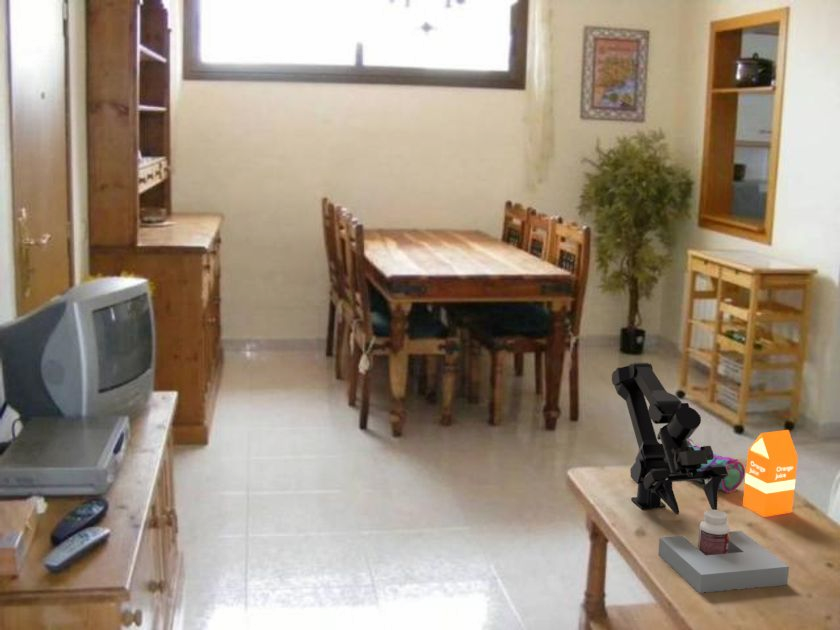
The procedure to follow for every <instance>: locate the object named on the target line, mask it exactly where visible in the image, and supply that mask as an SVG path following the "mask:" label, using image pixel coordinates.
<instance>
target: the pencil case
mask: <svg viewBox="0 0 840 630" xmlns="http://www.w3.org/2000/svg"><path fill="white" fill-rule="evenodd" d="M687 441H688V444H689V447H693V448H694V450H700V447H701V446H698V445H697V444H695V443H694V441H693V440H692V438H690V437H689V438H688V439H687ZM713 455H714V458H713V460H707V462H708V464H701V466H702V467H701V468H700V469H697V471H704V470H705V469H706V468H707V467H708V466H709V465H724V466H725V467H726V468H727V470H728V473H729V475H728V476H727V477H726V478H725V479H724V480H723V481H722V482H721V483H720V484H719V487H718V491H719V490H720V491H722V492H724V493H727V494H731V493H733V492H734V491H735V490H736V489H738V487H739V486H740V485H741V484H742V482H743V480H745V475H746V470H745V469H746V468H745V466H744V464H743V463H742V462H741V461H739V459H737V458H736V459H735V458H732V457H729V456H722V455H719V454H716V453H713ZM696 481H697V482H699V483H702V481H701V480H696ZM702 484H703V483H702Z"/></svg>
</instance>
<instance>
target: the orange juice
mask: <svg viewBox="0 0 840 630" xmlns="http://www.w3.org/2000/svg"><path fill="white" fill-rule="evenodd" d="M798 458H799V457H798V454H797V451H796V448H795V444H794V443H793V439H792V437H791V433H790V430H789V429H785V430H777V431H769V432H761V433H760V434H759V435H758V436H757V438H756V440H754V442H753V443H752V445H751V446H749V448H748V449H747V460H746V468H745V469H746V470H745V476H744V487H743V488H744V490H743V499H742V500H743V501H742V506H743V507H745V508H746V509H748V510H750V511H752V512H754V513H756V514H758V515H759V516H761V517H763V518H765V517H766V518H767V517H771V516H777V515H782V514H783V515H784V514H788V513H792V512H793V504H794V503H793V502H794V495H795V494H794V493H795V488H796V487H795V486H796V477H797V466H798Z"/></svg>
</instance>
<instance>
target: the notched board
mask: <svg viewBox="0 0 840 630" xmlns="http://www.w3.org/2000/svg"><path fill="white" fill-rule="evenodd" d="M658 541H659V542H658V552H657V555H658V556H659V557H660V558H661V559H662V560H664V562H666V563H667V565H669V566H670V567H671V568H672V569H673V570H674V571H675V572H677V574H678V575H680V576H681V578H682V579H684V580H685V581H686V582H687V583H688V584H689V585H690V586H691V585H692V586H693V587H694V588H693V587H692V586H691V587H692V588H693V589H695V591H697V592H698V593H699V594H705V593H704V592H706V593H714V592H715V591H716V592H723V591H724V590H726V591H731V590H730V589H737V590H744V589H745V588H747V589H756V588H755V587H757V588H767V587H774V586H775V587H777V586H784V585H788V581H789V580H788V579H789V571H790V566H789V565H788V564H786V563H785V562H783V560H781V559H779V557H777V556H776V555H774V554H773V553H772V552H771V551H769V550H768V549H766V548H765V547H764V546H763V545H761V544H760V543H759V542H757V541H755V539H753V538H752V537H751V536H749V535H748V534H746V532H744V531H742V530H736V531H735V530H734V531H729V541H728V552H727V554H716V555H705V554H703V553H702V552H701V551H700V550H699V549H698V547H696V546H695V545H694V544H693V543H691V541H689V540H688V539H687V538H686V537H685V536H684V535H675V536H674V535H673V536H664V537H663V536H662V537H659V540H658ZM724 592H725V591H724Z"/></svg>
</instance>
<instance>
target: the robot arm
mask: <svg viewBox="0 0 840 630" xmlns="http://www.w3.org/2000/svg"><path fill="white" fill-rule="evenodd" d="M611 383H612V385H613V386H614V388H615V391H616V393H617V395H618V396H619V397H620V398H622V399H623V400H624V401H625V402H626V406H627V410H628V413H629V418H630V421H631V424H632V428H633V431H634V435H635V438H636V443H637V446H638V452H637V454H636V456H635V458H634V459H635V462H634V463H633V465H632V466H631V468H630V469H629V470H630V479H632V481H634V482H635V484H637V491H636V497H635V496H634V497H631V498H630V500H631V501H632V503H633V502H634V504H635V505H637V506H638V507H639V508H640V509H642V510H649V509H650V510H651V509H662V508H666V506H668V507H669V508H670V510H672V512H673V513H674V514H675V515H679V514H680V508H679V505H678V501H677V499H676V496H675V493H674V490H673V483H675V482H685V481H686V482H690V481H697V480H701V481H702V484H704V485H703V487H702V489H703V492H704V495H705V497H706V499H707V501H708V504H709V506H710V508H711V510H718V493H719V489H718V487H719V484H720V483H721V482H722V481H723V480H724V479H725V478H726V477H727V476H728V475H729V473H728V470H727V468H726V467H725V466H724V465H709V466H708V467H707V468H706V469H705V470H704V471H697V469H700V468H701V467H702V466H701V464H708V462H707V460H713V458H714V455H713V454H714V451H713V448H712V446H711V445H704V446H699V447H700V450H694V448H693V447H689V444H688V441H687V439H688V438H689V439H690V437H691V436H692V435H694V434H695V432H696V430H697V429H698V428H699V426H700V425H701V422H702V419H701V414H699V412H698V411H697V410H695V409H694V408H692V407H690V405H689V402H682V401H681V400H680V399H679V398H678V397H677V395H675V394H674V393H673V394H672V393H670V392H668V391H667V390H666V388H665V387H664V385H663V383H662V382H661V381H660V379H659V378H658V376H657V374H655V371H654V370H653V365H652V364H651V363H649V362H633V363H630V364H628V365H626V366H621V367H620V366H619V367H616V368H615V370H614V371H613V372H612V374H611ZM647 402H648V404H647ZM648 405H649V406H648ZM653 424H655V425H659V424H660V425H663V424H665V425H663V426H662V427H660V428H659V432H658V434H657V435H656V431H655V429H654V425H653ZM658 440H659V441H661V443H660V442H659V441H658Z"/></svg>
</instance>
